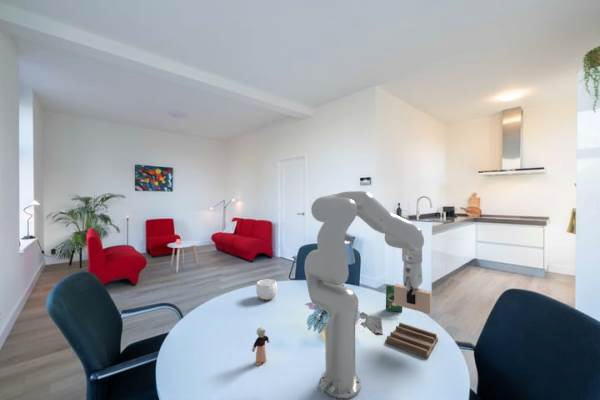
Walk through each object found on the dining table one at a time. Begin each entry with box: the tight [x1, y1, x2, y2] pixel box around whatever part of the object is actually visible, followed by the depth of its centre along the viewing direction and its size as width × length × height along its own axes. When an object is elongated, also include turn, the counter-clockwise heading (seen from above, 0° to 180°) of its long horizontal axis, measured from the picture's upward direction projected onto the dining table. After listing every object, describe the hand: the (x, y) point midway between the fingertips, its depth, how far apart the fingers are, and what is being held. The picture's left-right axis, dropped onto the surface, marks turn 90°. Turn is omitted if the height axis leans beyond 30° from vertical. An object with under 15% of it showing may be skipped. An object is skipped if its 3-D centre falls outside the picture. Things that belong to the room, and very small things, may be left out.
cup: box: [255, 278, 278, 301], centre depth 150 cm, size 12×12×10 cm
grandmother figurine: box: [251, 326, 271, 367], centre depth 94 cm, size 8×4×13 cm, turn 148°
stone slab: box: [359, 312, 383, 336], centre depth 120 cm, size 18×2×10 cm
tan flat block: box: [394, 283, 433, 315], centre depth 105 cm, size 3×14×8 cm, turn 49°
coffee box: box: [385, 284, 403, 313], centre depth 133 cm, size 8×3×13 cm, turn 79°
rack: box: [384, 322, 439, 360], centre depth 105 cm, size 16×16×2 cm
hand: (412, 301), depth 105 cm, fingers closed on tan flat block, 3 cm apart
